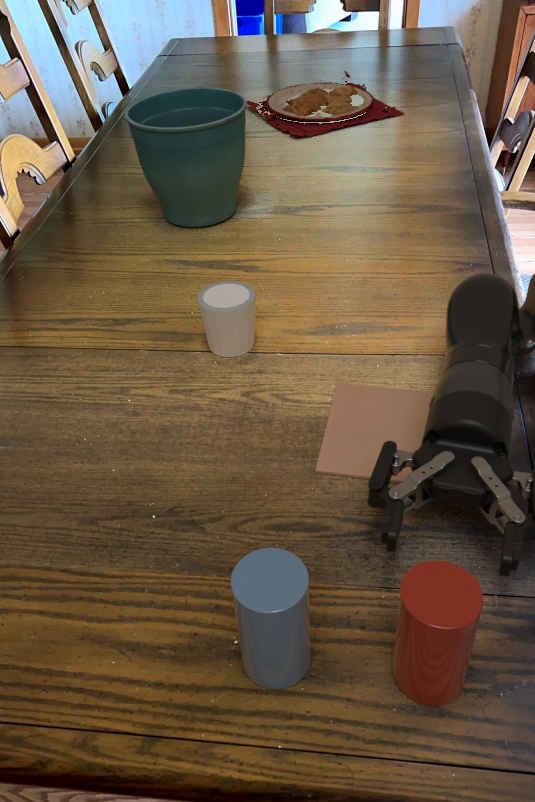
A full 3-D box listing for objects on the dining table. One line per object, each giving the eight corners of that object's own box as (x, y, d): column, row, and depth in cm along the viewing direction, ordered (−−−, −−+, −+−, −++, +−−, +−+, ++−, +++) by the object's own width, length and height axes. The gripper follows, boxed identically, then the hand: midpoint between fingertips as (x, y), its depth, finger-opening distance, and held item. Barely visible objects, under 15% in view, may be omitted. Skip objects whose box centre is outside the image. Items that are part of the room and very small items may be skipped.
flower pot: (148, 246, 109) (128, 134, 98) (140, 198, 123) (121, 95, 112) (264, 228, 111) (256, 117, 100) (243, 183, 125) (235, 81, 114)
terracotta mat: (445, 395, 78) (446, 392, 78) (439, 488, 68) (440, 485, 68) (336, 385, 81) (336, 382, 81) (315, 473, 70) (315, 470, 70)
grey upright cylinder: (317, 632, 57) (315, 553, 51) (304, 695, 53) (300, 618, 47) (251, 620, 58) (241, 542, 52) (234, 682, 54) (221, 605, 48)
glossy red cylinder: (465, 645, 55) (483, 566, 49) (464, 712, 51) (483, 635, 45) (395, 634, 56) (403, 554, 50) (388, 698, 52) (396, 621, 46)
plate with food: (243, 109, 156) (242, 93, 154) (345, 84, 164) (345, 68, 161) (294, 143, 140) (293, 126, 137) (405, 114, 147) (405, 96, 145)
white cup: (231, 367, 84) (226, 317, 80) (192, 346, 88) (184, 297, 84) (270, 341, 88) (267, 292, 84) (231, 321, 92) (226, 274, 87)
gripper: (542, 463, 67) (535, 608, 55) (390, 436, 70) (353, 566, 59) (559, 401, 62) (555, 546, 50) (395, 376, 66) (355, 505, 54)
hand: (446, 557), depth 54 cm, fingers open, 8 cm apart
